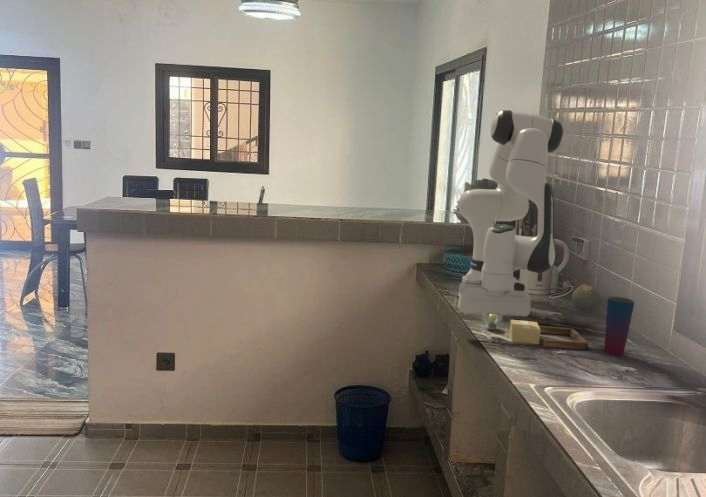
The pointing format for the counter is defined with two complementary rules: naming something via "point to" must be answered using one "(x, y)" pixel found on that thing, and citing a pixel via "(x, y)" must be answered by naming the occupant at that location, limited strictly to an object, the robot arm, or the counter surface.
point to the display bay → (577, 344)
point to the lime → (492, 318)
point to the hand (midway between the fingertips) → (491, 328)
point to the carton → (524, 331)
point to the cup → (617, 324)
